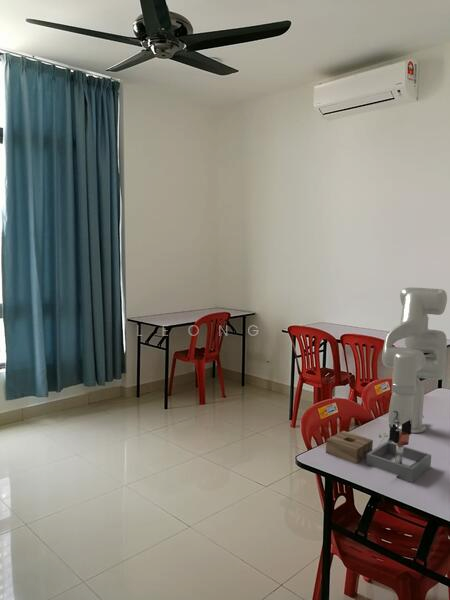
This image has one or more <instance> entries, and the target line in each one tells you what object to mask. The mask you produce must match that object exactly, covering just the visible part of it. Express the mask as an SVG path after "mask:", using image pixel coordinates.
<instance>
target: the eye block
mask: <svg viewBox="0 0 450 600" xmlns="http://www.w3.org/2000/svg"><path fill="white" fill-rule="evenodd" d="M373 443H374V439H371V438H367V437H364V436H363V435H358V434H354V433H352V432H349V431H346V430H342V431H340V432H338V433H335V435H332V436H330V437H328V438H326V441H325V454H328V455H330V456H333V457H336V458H339V459H342V460H344V461H347V462H350V463H353V464H358V463H359V462H361V461H362V460H364V459H365V458H366V455H367V453H369V452H370V451H372V450H373Z"/></svg>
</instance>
